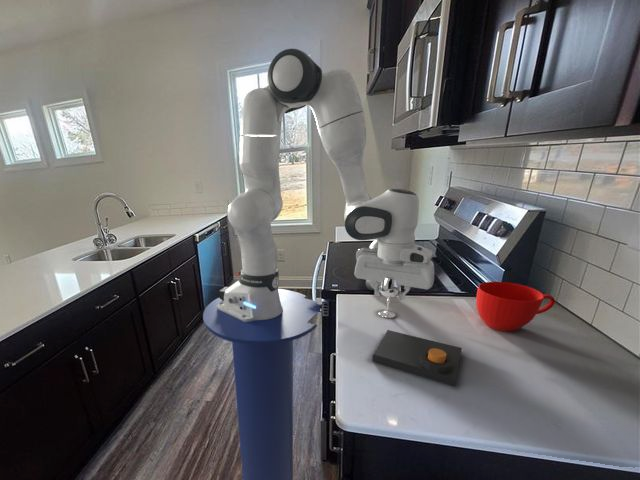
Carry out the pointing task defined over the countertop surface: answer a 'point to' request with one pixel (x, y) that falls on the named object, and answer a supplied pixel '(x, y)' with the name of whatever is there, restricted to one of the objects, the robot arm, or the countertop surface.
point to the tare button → (437, 355)
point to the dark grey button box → (417, 356)
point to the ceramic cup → (509, 304)
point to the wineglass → (389, 294)
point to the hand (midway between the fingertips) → (389, 296)
